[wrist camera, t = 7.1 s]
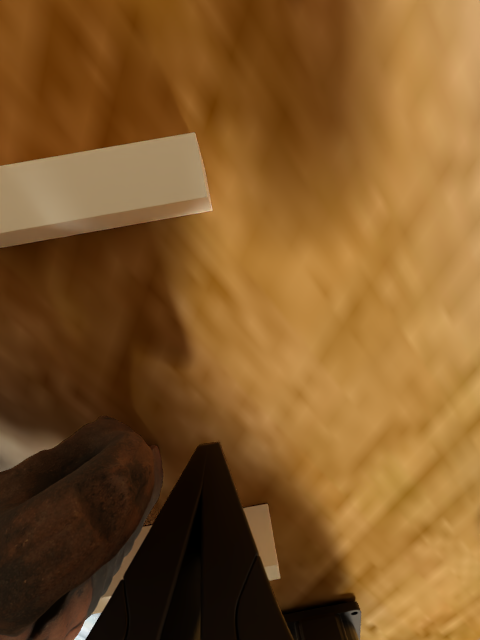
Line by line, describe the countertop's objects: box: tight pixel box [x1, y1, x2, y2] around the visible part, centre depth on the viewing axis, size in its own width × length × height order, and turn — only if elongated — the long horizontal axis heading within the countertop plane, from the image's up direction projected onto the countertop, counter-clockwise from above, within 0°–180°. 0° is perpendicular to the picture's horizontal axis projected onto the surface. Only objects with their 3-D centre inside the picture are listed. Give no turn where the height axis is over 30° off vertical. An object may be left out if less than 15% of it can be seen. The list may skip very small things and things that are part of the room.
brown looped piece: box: [0, 416, 163, 640], centre depth 8 cm, size 12×10×8 cm
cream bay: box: [0, 132, 281, 614], centre depth 9 cm, size 17×16×2 cm
